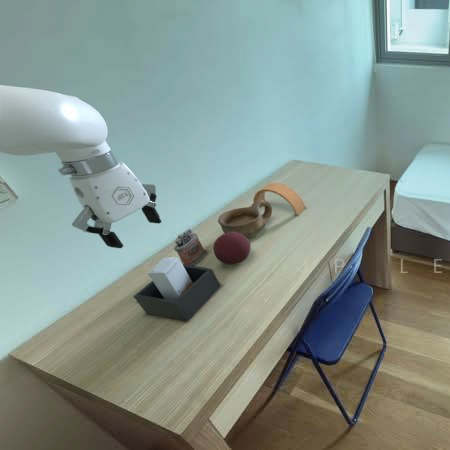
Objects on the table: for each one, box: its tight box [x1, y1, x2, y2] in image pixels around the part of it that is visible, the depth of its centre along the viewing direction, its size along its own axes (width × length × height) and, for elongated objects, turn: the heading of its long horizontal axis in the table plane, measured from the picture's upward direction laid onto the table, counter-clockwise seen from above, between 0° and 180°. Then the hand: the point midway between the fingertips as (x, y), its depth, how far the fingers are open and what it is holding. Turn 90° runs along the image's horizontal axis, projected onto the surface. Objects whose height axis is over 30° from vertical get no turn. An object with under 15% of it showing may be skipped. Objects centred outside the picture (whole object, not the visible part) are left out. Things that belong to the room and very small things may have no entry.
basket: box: [132, 263, 222, 323], centre depth 82 cm, size 13×13×7 cm
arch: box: [252, 182, 306, 216], centre depth 119 cm, size 6×20×10 cm, turn 71°
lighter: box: [173, 228, 207, 266], centre depth 95 cm, size 8×3×10 cm, turn 171°
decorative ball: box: [212, 232, 251, 266], centre depth 94 cm, size 10×10×10 cm
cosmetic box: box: [147, 257, 193, 301], centre depth 80 cm, size 6×4×12 cm
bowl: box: [217, 200, 273, 239], centre depth 108 cm, size 18×14×10 cm
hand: (137, 234), depth 70 cm, fingers open, 9 cm apart
